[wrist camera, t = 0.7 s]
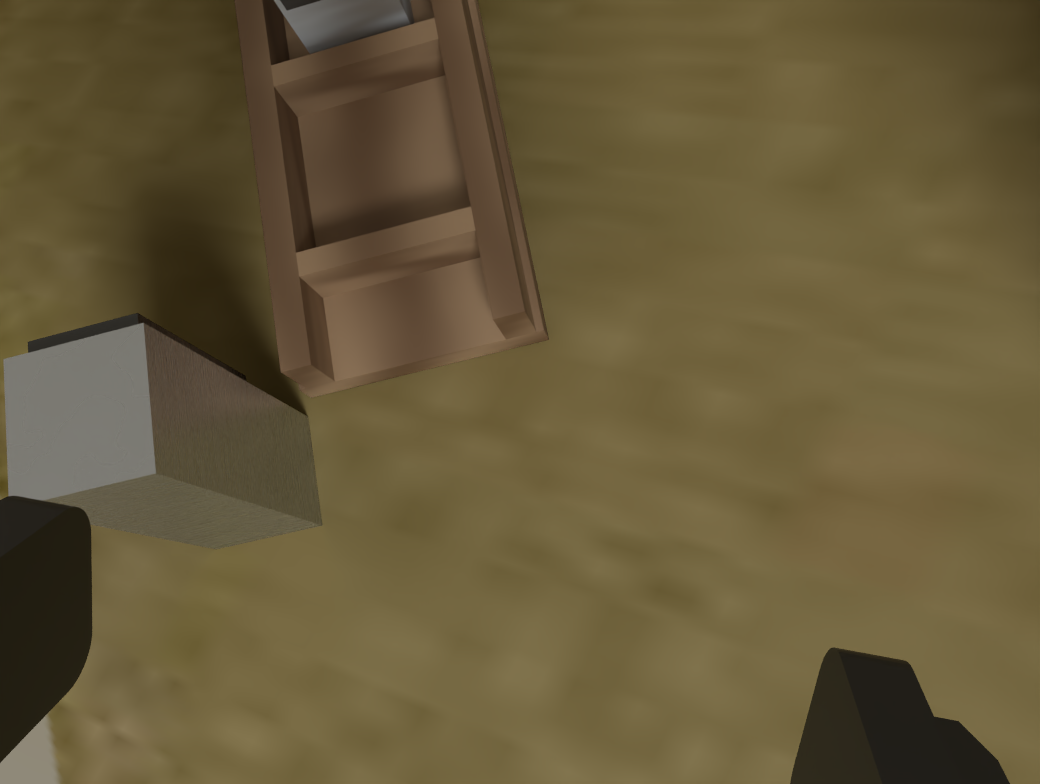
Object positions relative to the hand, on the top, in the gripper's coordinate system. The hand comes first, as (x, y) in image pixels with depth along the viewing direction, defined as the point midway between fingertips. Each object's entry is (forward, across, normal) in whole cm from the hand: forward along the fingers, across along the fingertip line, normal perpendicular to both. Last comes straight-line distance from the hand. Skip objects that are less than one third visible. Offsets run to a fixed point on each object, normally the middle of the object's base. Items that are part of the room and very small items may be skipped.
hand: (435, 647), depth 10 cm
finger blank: (+26, +12, +11) cm, 30 cm away
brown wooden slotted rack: (+33, +10, -2) cm, 35 cm away
